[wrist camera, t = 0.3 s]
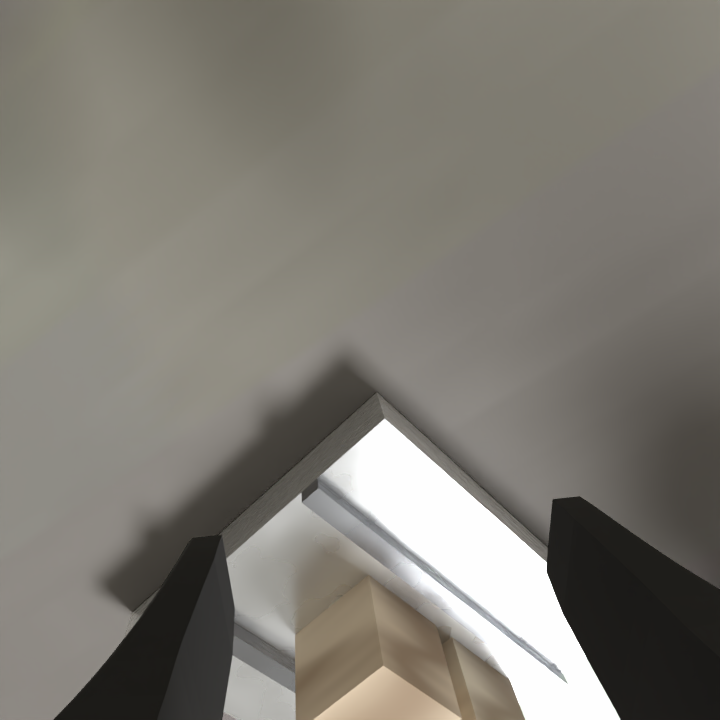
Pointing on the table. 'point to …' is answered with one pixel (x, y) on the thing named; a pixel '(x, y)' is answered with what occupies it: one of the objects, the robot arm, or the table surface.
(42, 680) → the table surface
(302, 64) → the table surface
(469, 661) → the wooden cube
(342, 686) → the tan cube
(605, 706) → the tray
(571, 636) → the slotted bed
